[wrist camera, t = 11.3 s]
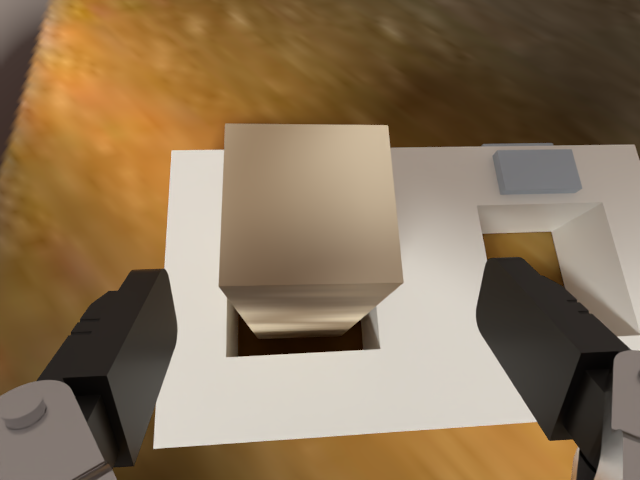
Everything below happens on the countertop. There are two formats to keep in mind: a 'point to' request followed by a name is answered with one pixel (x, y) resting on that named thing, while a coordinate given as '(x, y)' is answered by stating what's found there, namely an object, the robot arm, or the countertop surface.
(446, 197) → the socket hub
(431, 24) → the countertop surface
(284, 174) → the beech plug
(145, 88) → the countertop surface
